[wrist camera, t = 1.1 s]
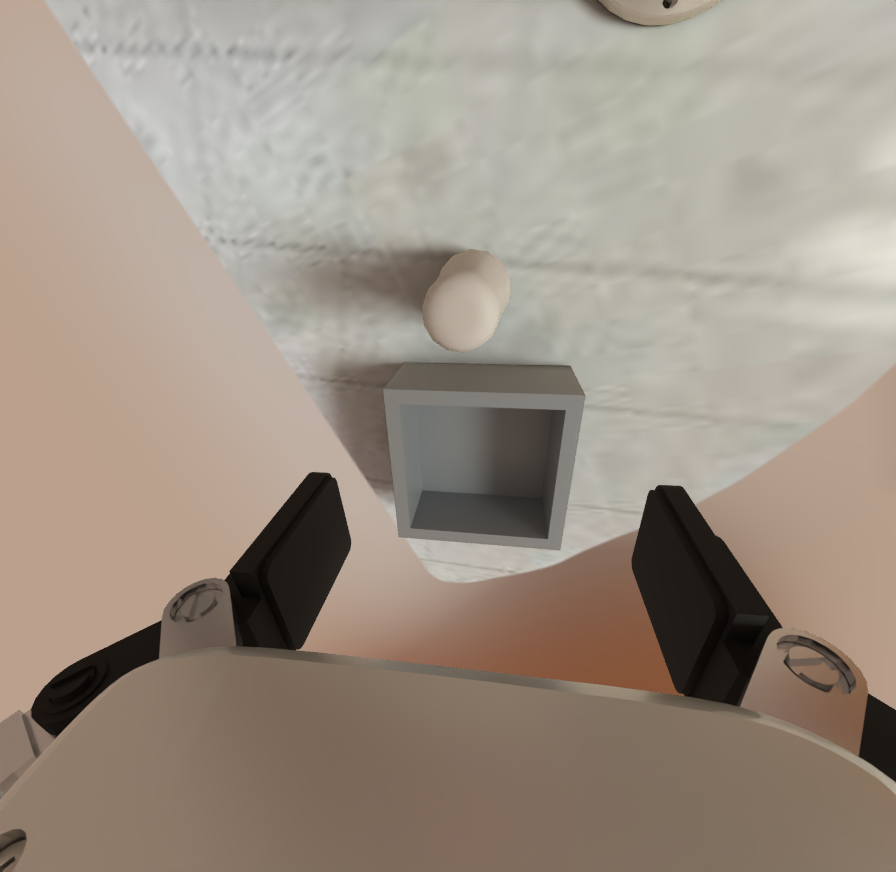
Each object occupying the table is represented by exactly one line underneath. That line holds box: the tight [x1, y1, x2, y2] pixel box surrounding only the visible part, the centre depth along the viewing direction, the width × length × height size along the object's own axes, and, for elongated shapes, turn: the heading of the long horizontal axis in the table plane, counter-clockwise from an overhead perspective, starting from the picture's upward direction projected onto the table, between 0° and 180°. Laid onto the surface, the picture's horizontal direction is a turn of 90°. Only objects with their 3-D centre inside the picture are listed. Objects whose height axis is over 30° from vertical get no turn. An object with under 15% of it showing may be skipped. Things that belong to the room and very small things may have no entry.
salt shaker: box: [422, 249, 510, 352], centre depth 25 cm, size 6×6×13 cm
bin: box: [383, 363, 585, 550], centre depth 34 cm, size 15×15×7 cm
